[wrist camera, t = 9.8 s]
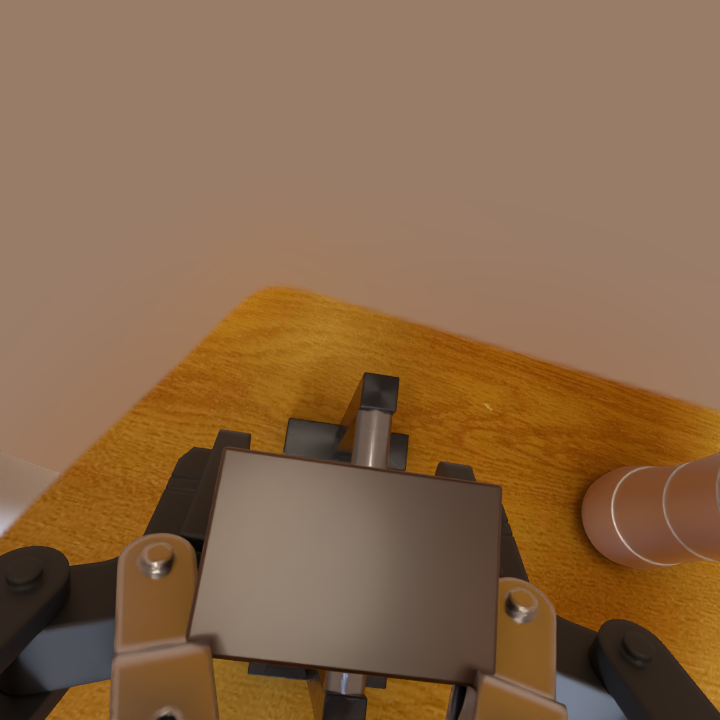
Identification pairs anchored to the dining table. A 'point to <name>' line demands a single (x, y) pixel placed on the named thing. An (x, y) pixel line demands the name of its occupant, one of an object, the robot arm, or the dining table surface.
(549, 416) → the dining table surface
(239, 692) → the dining table surface
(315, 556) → the two-legged arch bridge
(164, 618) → the robot arm
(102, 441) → the dining table surface
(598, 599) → the dining table surface
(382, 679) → the rack
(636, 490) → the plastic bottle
